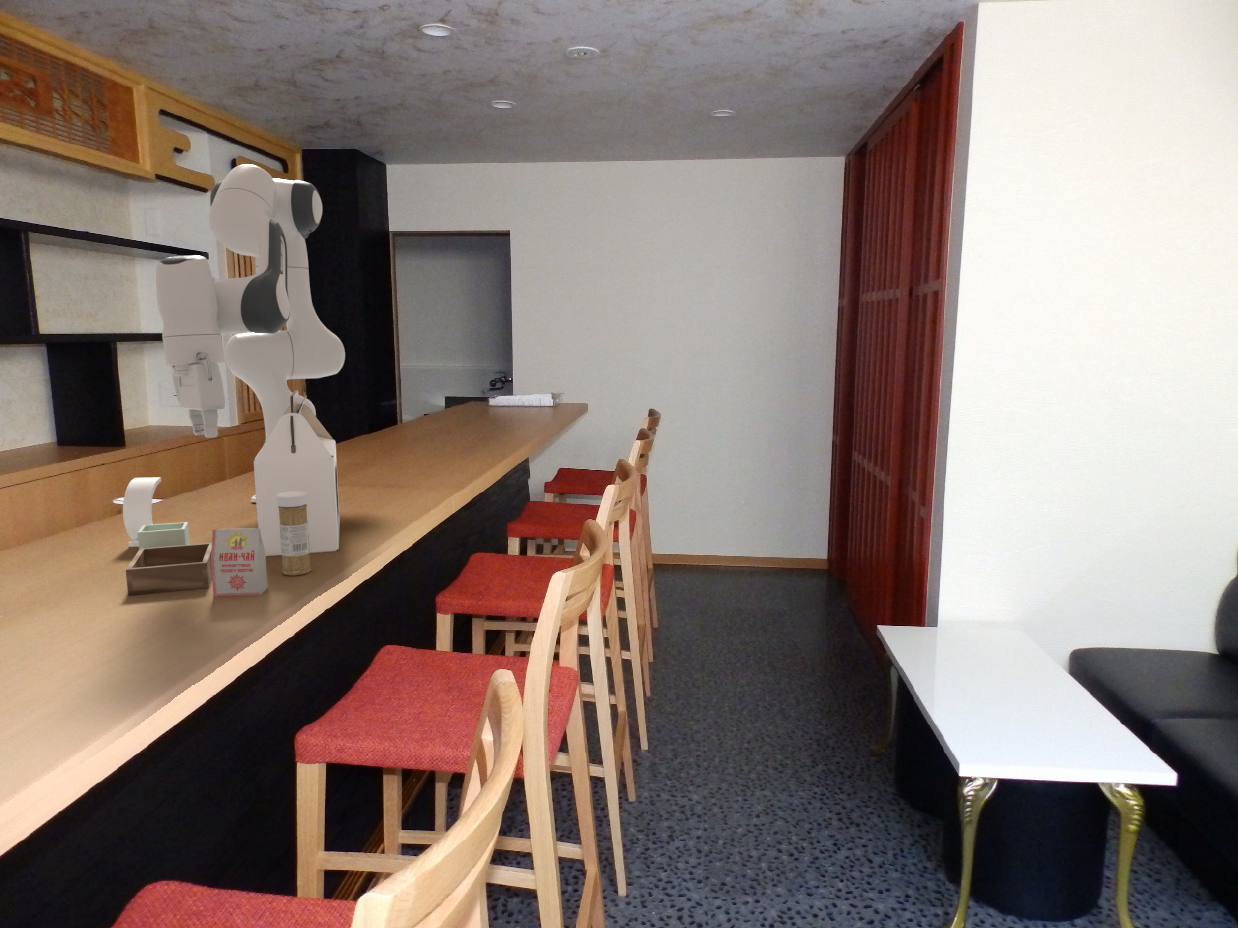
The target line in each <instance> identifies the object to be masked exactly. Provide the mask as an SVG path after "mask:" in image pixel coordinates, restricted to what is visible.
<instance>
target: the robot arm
mask: <svg viewBox="0 0 1238 928" xmlns="http://www.w3.org/2000/svg"><path fill="white" fill-rule="evenodd" d="M209 198H210V199H209V205H210V209H209V213H208V214H209V215H208V221H209V227H210V230H211V232H212V234H213V236H214V237H215V238H216V239H217V241H218V242H219V243H220V244H222V246H223V247H225V248H226V249H228V250H229V251H231V252H233V253H235V254H238V255H242V256H248V257H254V262H255V263H254V265H255V274H253V275H252V274H251V275H249V276H245V277H234V278H233V277H231V278H230V277H229V278H215V277H214V276H213V273H212V272H211V266H210V264H209V261H208V259H207V257H205V256H202V255H197V254H195V255H194V254H193V255H192V254H190V255H178V256H169V257H168V256H167V257H165V258H162V259H160V260H159V261H158V262H157V264H156V268H155V269H156V271H155V286H156V288H155V290H156V298H157V301H156V302H157V308H158V312H159V314H160V317H161V320H162V325H163V329H162V333H161V337H162V344H163V351H164V357H165V358H164V359H165V365H166V366H167V367H168V368H171V376H172V381H173V385H174V390H175V393H176V398H177V401H178V404H179V406H180V408H181V409H184V410H185V409H186V410H188V416H189V420H190V422H191V425H192V432H193V434H194V436H204V437H205V438H206V439H207V438H209V439H211V438H217V437H218V436H219V432H218V431H219V430H218V422H219V421H218V420H219V419H218V418H219V415H218V414H219V413H218V410H222V409H225V406H226V397H225V392H224V386H223V385H224V384H223V380H222V375H221V370H220V369H221V368H220V366H219V365H218V364H220V363H226V366H227V368H228V370H230V372H231V373H232V374H233V375H234V376H235V377H236V378H238V379H240V380H241V381H242V382H244V384H246V385H248V387H249V388H250V389H251V390H252V391H253V393H254V394H255V395H256V398H257V399H258V401H259V403H260V406H261V409H262V410H261V411H262V414H263V415H262V416H263V422H264V423H263V424H264V430H265V440H264V442H263V445H264V444H265V442H266V441H267V439H268V437H269V436H270V434H271V432H272V431H273V429H274V427H275V426H276V424H277V422H278V421H279V419H280V418H281V417H282V416H283V414H284V413H285V411H286V409H287V408H288V407H289V406H291V403H290V396H291V395H292V394H293V392H294V391H293V392H292V391H291V390H290V388H289V386H288V380H303V379H305V380H307V379H321V378H324V377H329V376H333V375H336V374H338V373H339V372H340V371H341V369H342V368H343V367H344V364H345V360H346V352H345V351H346V350H345V347H344V344H343V342H342V341H341V339H340V338H339V337H338V336H337V335H336V334H335V333H333V332H332V331H331V330H330V329H328V328H327V327H326V326H325V325H324V323H323V322H322V321H321V320H320V318H319V316H318V315H317V313H316V310H315V307H314V305H313V302H312V294H311V287H310V285H311V284H310V274H309V273H310V272H309V271H310V270H309V259H308V251H307V250H308V249H307V244H306V239H308V237H309V235H310V233H313V232H314V231H315V230H316V229H317V228H318V227H319V225H320V224H321V220H322V216H323V203H322V199H321V196H320V193H319V190H318V189H317V187H316V186H314V185H313V184H312V182H311V183H310V182H307V181H304V180H299V179H295V180H289V179H282V178H273V176H271V174H270V173H269V172H268V171H266V170H265V169H264V168H262V167H260V166H259V165H258V166H257V165H255V164H248V163H247V164H246V163H245V164H240V165H237V166H235V167H234V168H232V169H231V170H230V171H229V172H228V174H227V175H225V177H224V179H223V180H220V181H217V182H216V184H215V185H213V187H212V188H211V191H210V195H209ZM285 325H286V329H284V330H282V329H283V327H284V326H285ZM223 335H226V336H227V335H232V336H231V337H230V338H229V339H228V340H227V343H226V345H225V348H224V345H223V338H222V336H223ZM298 396H299V404H301V403H302V401H303V400H304V398H305V396H302V395H300V394H298ZM303 405H306V406H307V407H309V408H310V410H311V411H312V412H313V414H314V415H315V416H316V417H317V413H316V408H315V405H314V404H313V403H312V401H311V400H310V399H308V398H306V399H305V402H304V404H303ZM300 415H301V411H300ZM250 500H251V501H250V502H251V503H256V494H254V495H253V496H251V499H250Z"/></svg>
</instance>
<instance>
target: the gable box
mask: <svg viewBox="0 0 1238 928" xmlns="http://www.w3.org/2000/svg"><path fill="white" fill-rule="evenodd" d="M298 395H299V390H298V389H295V390H294V391H293V394H292V395H291V396H290V403H291V406H289V407H288V408H287V409H286V411H285V413H284V414H283V416H282V417H281V418H280V419H279V421H278V422H277V424H276V426H275V427H274V429H273V431H272V432H271V434H270V436H269V437H268V439H267V441H266V442H265V444H264V443H263V446H262V447H261V449H260V450H259V451H258V453H257V455H256V456H255V457H254V459H253V472H254V473H253V475H254V486H255V488H254V489H255V495H256V502H255V504H256V516H257V528H260V533H261V537H262V541H263V545H264V549H265V556H266V557H272V556H282V554H281V539H280V518H279V508H278V505H277V495H278V494H279V493H282V492H288V491H303V492H306V494H307V507H306V508H307V509H306V510H307V521H308V533H309V548H310V550H309V554H315V553H329V552H330V553H331V552H338V551H339V550H340V549H339V548H340V547H339V546H340V526H341V525H340V523H341V522H340V505H339V500H340V499H339V486H338V483H339V482H338V466H337V465H338V463H337V462H338V461H337V446H336V445H337V443H336V440H335V439H333V437H332V436H331V434H330V433H329V431H327V430H326V428H325V427H324V425H323V424H322V422H321V421H320V420H319V419H318V418H317V415H316V416H315V415H314V414H313V412H312V411H311V410H310V408H309V407H307V406H306V405H303V404H304V402H305V399H307V397H308V396H307V395H305V396H304V397H305V398H304V400H303V401H302V403H301V404H299V396H298ZM300 411H301V415H300Z"/></svg>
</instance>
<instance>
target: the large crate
mask: <svg viewBox="0 0 1238 928" xmlns="http://www.w3.org/2000/svg"><path fill="white" fill-rule="evenodd" d="M211 549H212V542H207V543H205V542H204V543H202V542H201V543H193V544H191V543H190V545H177V546H165V547H152V548H140V549H139V548H138V551H137V552H136V554H135V555H134V557H133V558H132V559H131V561H130V563H129V564H128V566H127V567H126V569H125V578H126V586H127V596H136V595H148V594H157V593H168V592H176V591H177V592H179V591H180V592H181V591H189V590H198V589H209V588H210V585H211V583H212V571H211Z"/></svg>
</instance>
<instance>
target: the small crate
mask: <svg viewBox="0 0 1238 928" xmlns="http://www.w3.org/2000/svg"><path fill="white" fill-rule="evenodd" d="M190 541H191V539H190V529H189V522H188V521H183V522H169V523H155V524H154V523H153V524H152V525H143V526H142V527H141V529H140V530H139V531H138V542H139V547H138V550H139V549H140V548H152V547H165V546H177V545H190V544H191V542H190Z"/></svg>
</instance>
